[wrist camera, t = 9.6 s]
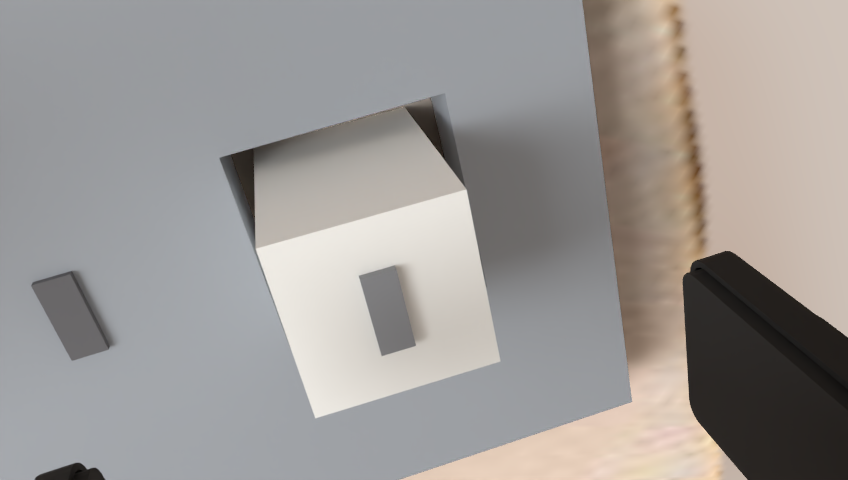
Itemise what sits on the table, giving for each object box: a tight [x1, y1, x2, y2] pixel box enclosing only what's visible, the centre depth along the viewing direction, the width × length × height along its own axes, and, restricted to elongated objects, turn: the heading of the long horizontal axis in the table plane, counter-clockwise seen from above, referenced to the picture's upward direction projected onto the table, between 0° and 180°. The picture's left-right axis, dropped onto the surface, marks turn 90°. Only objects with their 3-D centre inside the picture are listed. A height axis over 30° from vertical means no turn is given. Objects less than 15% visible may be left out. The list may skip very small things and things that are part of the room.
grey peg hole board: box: [0, 0, 632, 480], centre depth 21 cm, size 18×20×3 cm
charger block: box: [254, 107, 501, 418], centre depth 19 cm, size 4×4×7 cm
